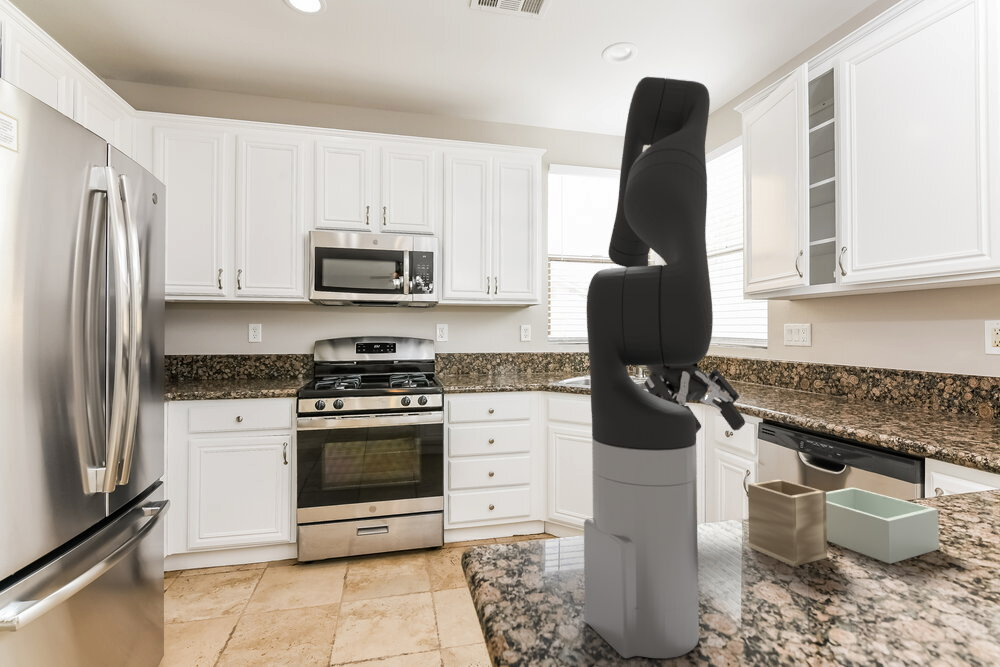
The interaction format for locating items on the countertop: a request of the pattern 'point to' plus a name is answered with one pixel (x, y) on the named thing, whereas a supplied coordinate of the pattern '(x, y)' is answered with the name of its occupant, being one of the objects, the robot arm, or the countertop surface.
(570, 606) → the countertop surface
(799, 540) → the birch crate
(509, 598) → the countertop surface
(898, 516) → the sage crate
